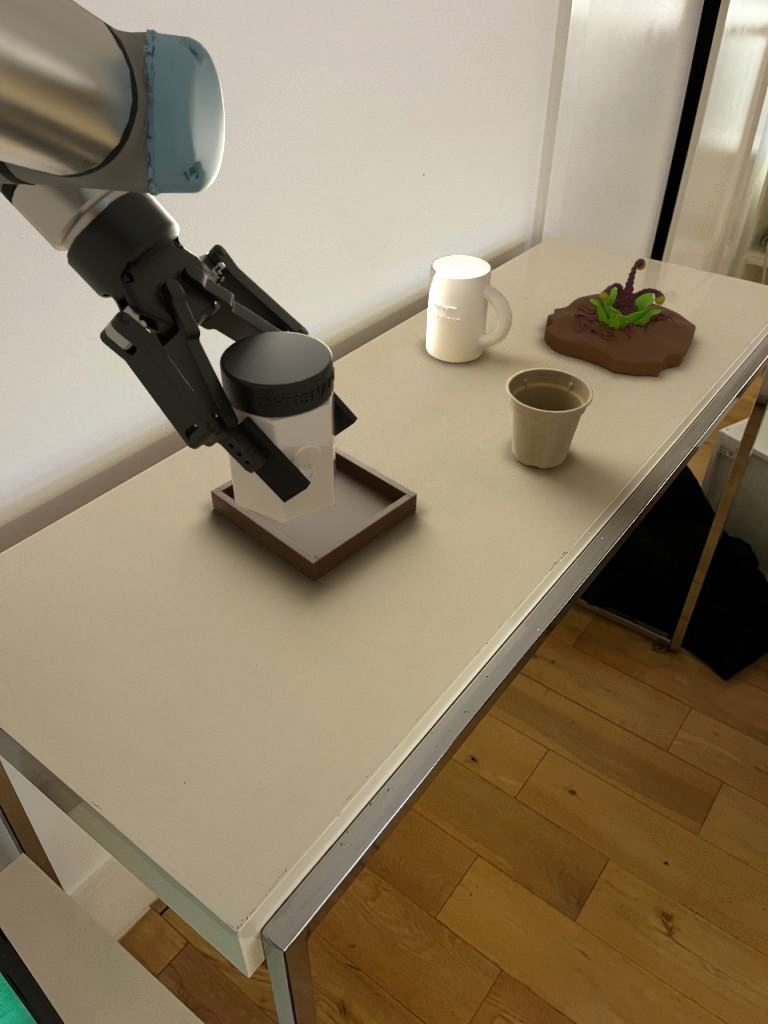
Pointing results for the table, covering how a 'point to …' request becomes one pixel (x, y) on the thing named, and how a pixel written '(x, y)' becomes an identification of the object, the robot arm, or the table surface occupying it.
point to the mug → (463, 309)
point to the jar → (284, 415)
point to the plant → (621, 329)
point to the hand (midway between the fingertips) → (322, 458)
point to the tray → (327, 518)
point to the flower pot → (545, 414)
